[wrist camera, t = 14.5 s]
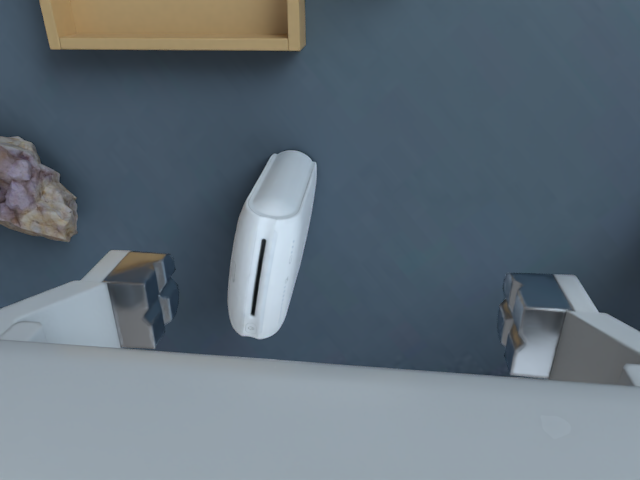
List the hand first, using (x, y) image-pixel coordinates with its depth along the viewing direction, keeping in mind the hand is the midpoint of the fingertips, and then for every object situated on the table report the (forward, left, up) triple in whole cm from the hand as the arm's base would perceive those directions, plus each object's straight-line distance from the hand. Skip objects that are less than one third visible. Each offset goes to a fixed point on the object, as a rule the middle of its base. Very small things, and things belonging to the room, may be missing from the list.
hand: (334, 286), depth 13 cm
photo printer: (+6, +11, -29) cm, 31 cm away
